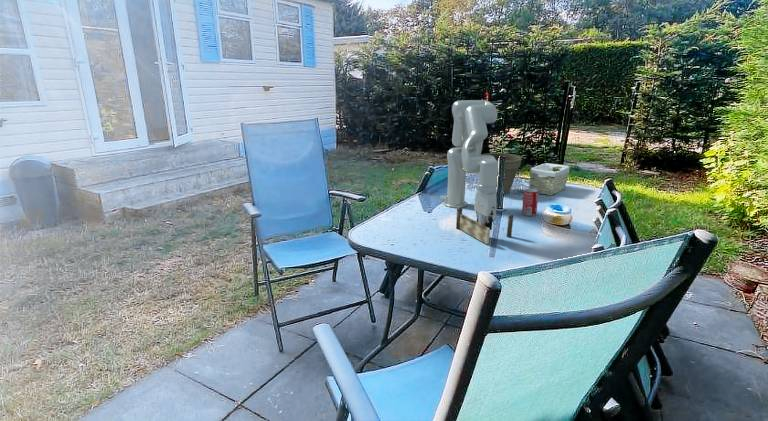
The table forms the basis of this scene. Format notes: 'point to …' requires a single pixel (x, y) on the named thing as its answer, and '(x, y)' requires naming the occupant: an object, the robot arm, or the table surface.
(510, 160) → the plant pot
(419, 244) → the table surface
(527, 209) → the soda can
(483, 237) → the gate
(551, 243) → the table surface
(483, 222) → the energy drink
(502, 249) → the table surface
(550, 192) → the storage basket
